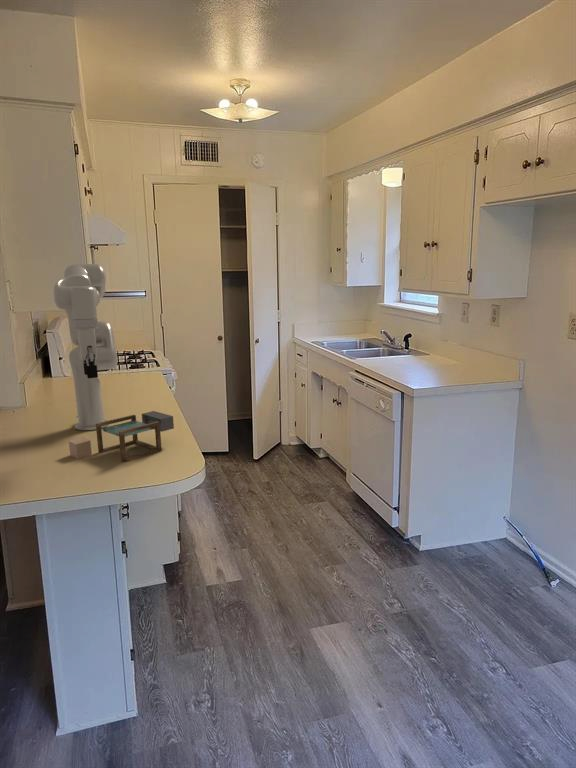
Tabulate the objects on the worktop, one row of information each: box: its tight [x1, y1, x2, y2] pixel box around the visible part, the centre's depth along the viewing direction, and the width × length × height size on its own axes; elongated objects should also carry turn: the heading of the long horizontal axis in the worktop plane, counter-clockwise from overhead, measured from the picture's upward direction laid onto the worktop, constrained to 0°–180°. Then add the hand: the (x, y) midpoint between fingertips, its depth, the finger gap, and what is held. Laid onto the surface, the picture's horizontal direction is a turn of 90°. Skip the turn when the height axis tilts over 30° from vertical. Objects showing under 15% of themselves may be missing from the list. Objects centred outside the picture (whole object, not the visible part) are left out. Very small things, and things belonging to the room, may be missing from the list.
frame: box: [96, 414, 163, 463], centre depth 185 cm, size 16×14×10 cm
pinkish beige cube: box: [68, 437, 93, 459], centre depth 184 cm, size 5×5×5 cm
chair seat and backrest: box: [102, 410, 175, 438], centre depth 188 cm, size 12×20×4 cm, turn 137°
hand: (91, 376), depth 185 cm, fingers open, 9 cm apart
